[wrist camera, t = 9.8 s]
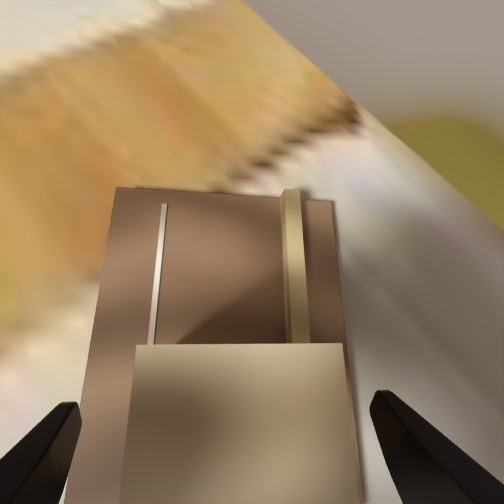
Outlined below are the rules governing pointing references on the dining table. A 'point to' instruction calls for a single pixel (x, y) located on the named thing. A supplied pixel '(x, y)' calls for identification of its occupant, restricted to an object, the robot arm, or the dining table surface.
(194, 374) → the cream rectangular block
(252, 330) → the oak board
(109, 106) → the dining table surface
